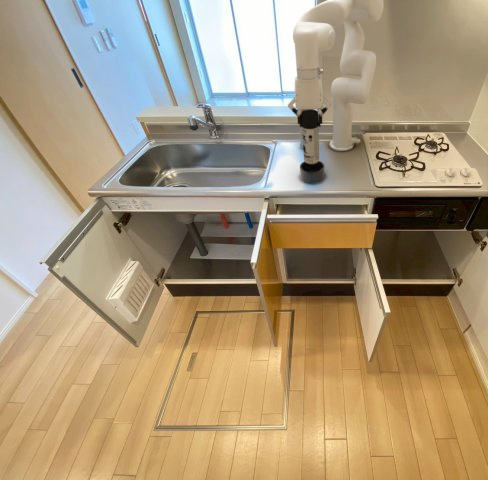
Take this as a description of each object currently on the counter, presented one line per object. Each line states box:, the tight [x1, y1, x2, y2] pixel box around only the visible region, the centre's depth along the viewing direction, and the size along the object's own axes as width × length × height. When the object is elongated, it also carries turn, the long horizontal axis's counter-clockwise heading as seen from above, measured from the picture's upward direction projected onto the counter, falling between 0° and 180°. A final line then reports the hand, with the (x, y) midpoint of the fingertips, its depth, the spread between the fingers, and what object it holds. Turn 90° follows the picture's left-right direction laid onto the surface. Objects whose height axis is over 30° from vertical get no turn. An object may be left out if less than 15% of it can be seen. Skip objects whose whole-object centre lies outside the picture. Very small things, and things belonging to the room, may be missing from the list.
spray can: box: [301, 109, 320, 164], centre depth 107 cm, size 7×7×20 cm
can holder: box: [299, 160, 326, 185], centre depth 118 cm, size 11×11×6 cm
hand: (310, 125), depth 103 cm, fingers closed on spray can, 6 cm apart
